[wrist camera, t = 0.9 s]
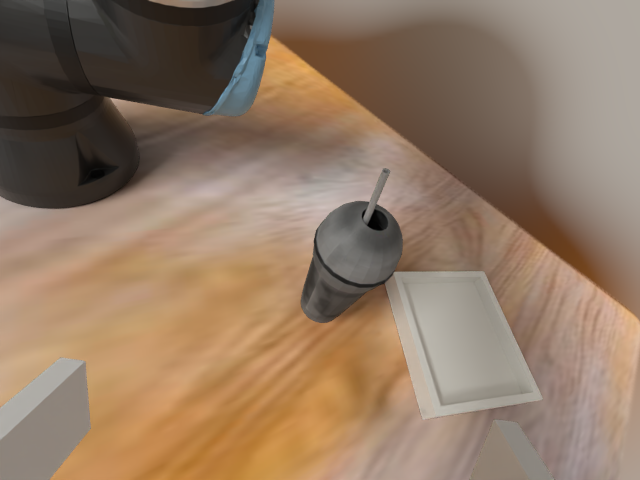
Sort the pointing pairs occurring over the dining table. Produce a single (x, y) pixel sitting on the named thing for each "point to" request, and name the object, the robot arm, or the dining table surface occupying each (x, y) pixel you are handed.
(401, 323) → the tray
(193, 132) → the dining table surface
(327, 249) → the beverage cup
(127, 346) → the dining table surface
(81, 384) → the robot arm
